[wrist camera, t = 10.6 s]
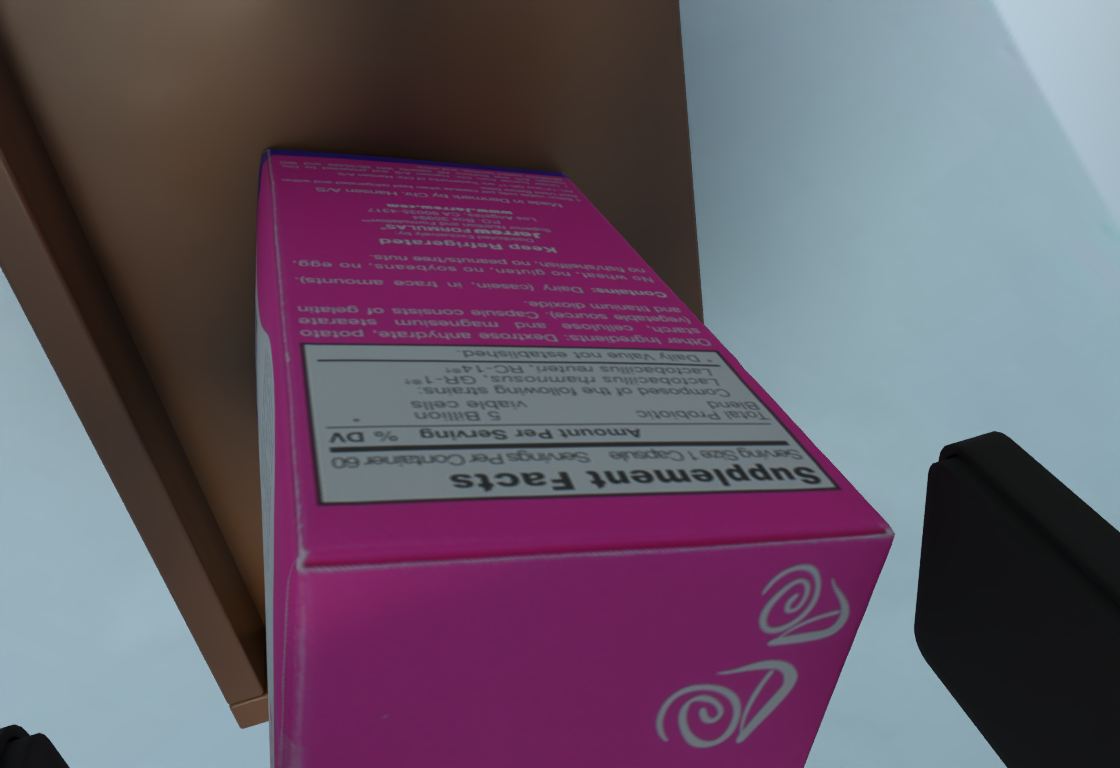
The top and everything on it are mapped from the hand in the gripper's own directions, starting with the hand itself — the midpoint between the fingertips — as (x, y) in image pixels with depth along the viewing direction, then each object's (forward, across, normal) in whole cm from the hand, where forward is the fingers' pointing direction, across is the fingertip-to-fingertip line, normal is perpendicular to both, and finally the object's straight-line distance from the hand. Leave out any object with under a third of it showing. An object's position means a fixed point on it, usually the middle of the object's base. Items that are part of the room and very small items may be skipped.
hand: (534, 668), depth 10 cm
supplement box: (+10, 0, 0) cm, 10 cm away
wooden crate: (+18, 0, +1) cm, 18 cm away
